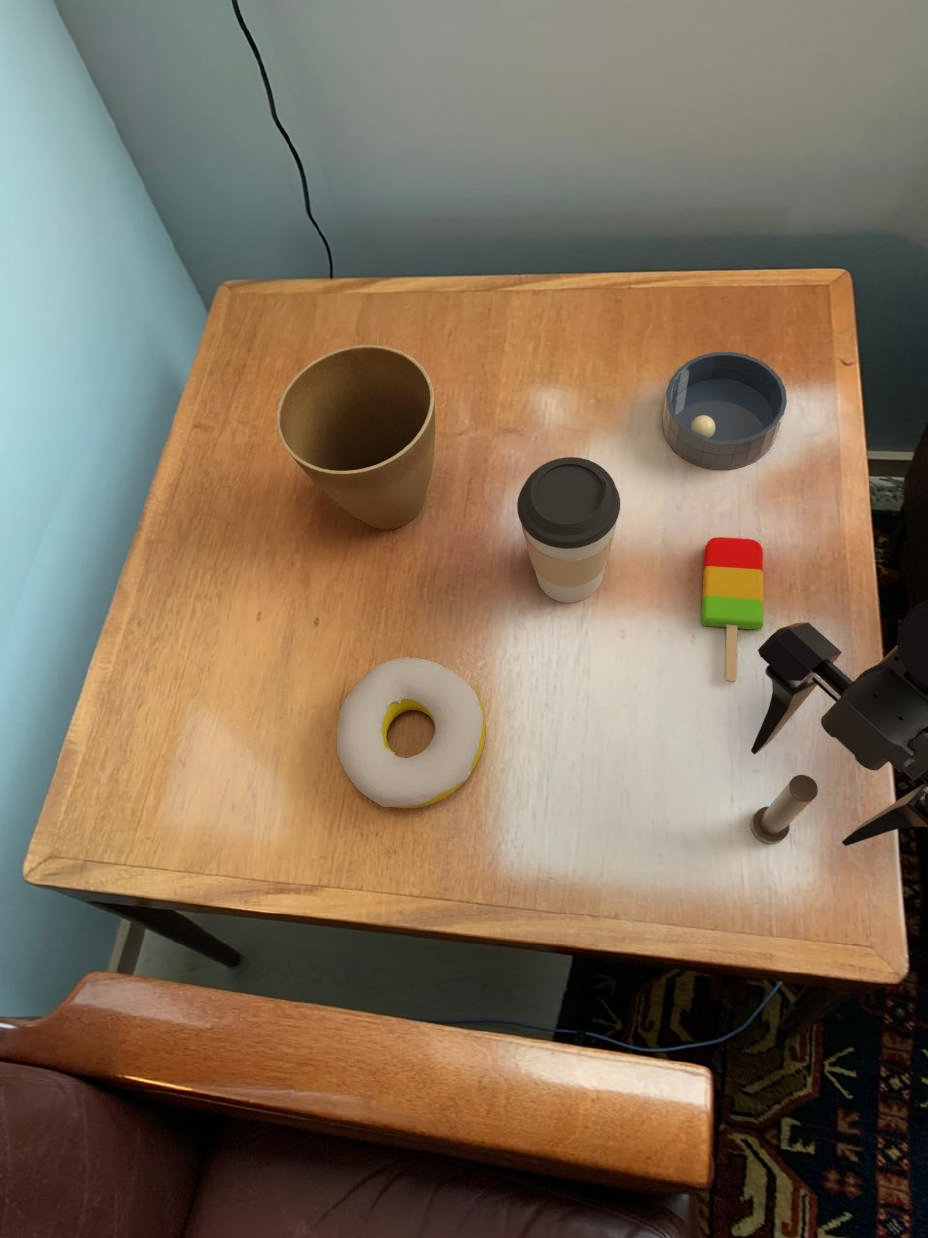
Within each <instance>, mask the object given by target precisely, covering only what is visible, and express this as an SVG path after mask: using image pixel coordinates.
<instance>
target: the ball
mask: <svg viewBox="0 0 928 1238" xmlns="http://www.w3.org/2000/svg"><path fill="white" fill-rule="evenodd" d="M690 429H691V430H692V431H693V432H696V433H698V434H700V435H703V436H705V437H708V438H710V437H712V435H713V434H714V432H715V422H714V421H713V419H712V418H710V417H709V416H706V415H701V416H698V417H696V418H695V419H694V420H693V421H692V422H691V424H690Z"/></svg>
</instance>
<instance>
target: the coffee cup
mask: <svg viewBox="0 0 928 1238" xmlns="http://www.w3.org/2000/svg"><path fill="white" fill-rule="evenodd" d="M516 510H517V517H518V519H519V521H520V524H521V530H522V534H523V537H524V541H525V544H526V548H527V552H528V554H529V559H530V562H531V565H532V567H533V569H534V572H535V576H536V580H537V583H538V585H539V587H540V589H541V591H542V592H543V593H545V595H547V596H548V597H549V598H550V599H553V600H554V601H557V602H560V603H569V604H571V603H572V604H573V603H578V602H582V601H584V600H586V599H588V598H590V597H591V596H592V595H594V594H595V593H596V592H597V590H598V589H599V588H600V587H601V584H602V582H603V578H604V575H605V570H606V569H605V568H606V565H607V564H608V560H609V556H610V553H611V552H610V551H611V549H612V548H611V547H612V545H613V540H614V536H615V531H616V527H617V521H618V518H619V515H620V512H621V497H620V493H619V489H618V488H617V486H616V483H615V481H614V479H613V478H612V476H611V474H610V473H609V472H608V471H607V470H606V469H605V468H604V467H603V466H601V465H600V464H598V463H596V462H594V461H592V460H589V459H586V458H582V457H575V456H566V457H560V458H556V459H552V460H549V461H548V462H545V463H543V464H542V465H540V466H539V467H537V468H536V469H534V471H533V472H532V473H531V474H530V475H529V476H528V477H527V479H526V481H525V482H524V484H523V486H522V487H521V489H520V491H519V494H518V497H517V502H516Z"/></svg>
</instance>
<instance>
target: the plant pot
mask: <svg viewBox="0 0 928 1238" xmlns="http://www.w3.org/2000/svg"><path fill="white" fill-rule="evenodd" d="M276 429H277V433H278V434H277V435H278V437H279V439H280V442H281V444H282V446H283V447H284V449H285V450H286V451H287V452H288V454H289V455H290V456H291V457H292V459H293V461H295V462H296V464H297V465H298V466H299V467H300V468H301V469H302V471H303V472H304V473H305V474H306V475H307V476H308V478H309V479H310V480H311V481H312V482H313V483H314V484H315V485H316V486H317V487H318V488H319V489H320V490H321V491H322V493H324V494H325V495H326V496H327V497H329V498H330V499H331V500H332V501H333V502H334V503H335V504H337V505H338V506H339V507H340V508H342V509H343V510H345V511H346V512H347V513H348V514H350V515H351V516H353V517H355V518H356V519H358V520H359V521H361V522H363V523H365V524H366V525H368V526H370V527H372V528H374V529H378V530H385V531H386V530H395V529H398V528H399V529H400V528H402V527H404V526H406V525H408V524H409V523H412V522H413V521H414V520H415V518H417V516H418V515H419V513H420V512H421V510H422V508H423V505H424V503H425V499H426V496H427V493H428V491H429V486H430V482H431V478H432V472H433V466H434V457H435V448H436V405H435V392H434V386H433V384H432V380H431V379H430V376H429V374H428V373H427V371H426V369H425V368H424V367H423V365H422V364H421V363H420V362H419V361H417V360H416V359H415V358H414V357H412V356H411V355H409V354H407V353H405V352H403V351H401V350H399V349H396V348H394V347H390V346H386V345H385V346H384V345H379V344H359V345H351V346H347V347H346V346H345V347H343V348H339V349H334V350H333V351H330V352H327V353H325V354H324V355H322V356H319V357H318V358H316V359H315V360H313V361H311V362H310V363H309V364H307V365H306V366H305V367H304V368H302V369H301V370H300V371H299V372H298V373H297V374H296V375H295V376H294V377H293V379H291V381H290V382H289V384H288V385H287V386H286V388H285V390H284V391H283V393H282V395H281V397H280V399H279V403H278V405H277V409H276Z"/></svg>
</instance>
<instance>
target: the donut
mask: <svg viewBox="0 0 928 1238" xmlns="http://www.w3.org/2000/svg"><path fill="white" fill-rule="evenodd" d="M407 711H418V712H419V711H420V712H422V713H424V714H426V715H427V716H428V717H429V718H430V719H431V720H432V722H433V725H434V729H435V730H434V735H433V738H432V739H431V742H430V743H429V745H428V746H427V747H425V749H423V751H421V752H420V753H417V754H415V755H412V756H408V757H402V756H400V755H397V754H396V752H395V751H393V750H392V749H391V747H390V746H389V743H388V738H387V736H388V730H389V727H390V725H391V723H392V722H393V721H394V719H396V718H397V716H399V715H401V714H402V713H404V712H407ZM337 722H338V723H337V739H336V752H337V756H338V760H339V762H340V764H341V767H342V768H343V770H344V772H345V774H346V776H347V777H348V778H349V780H350V781H351V783H352V784H353V785H354V787H355V788H356V789H357V790H358V791H359V792H360V793H361V794H362V795H364V796H365V797H367V798H368V799H369V800H371V801H373V802H374V803H376V804H378V805H379V806H381V807H383V808H389V807H390V808H397V809H416V808H423V807H427V806H431V805H433V804H437V803H439V802H440V801H442V800H444V799H446V798H447V797H450V795H452V794H453V793H454V792H456V791H457V790H458V789H459V788H460V787H461V786H462V785H463V784H464V783H465V782H466V781H467V780H468V779H469V778H470V777H471V774H472V772H473V771H474V770H475V768H476V766H477V764H478V763H479V760H480V758H481V756H482V753H483V750H484V746H485V743H486V741H485V740H486V726H487V725H486V717H485V711H484V707H483V704H482V701H481V699H480V697H479V695H478V693H477V692H476V689H475V688H474V687H473V686H472V685H471V683H469V682H468V681H467V680H466V679H465V678H464V677H462V676H460V675H459V674H458V673H456V672H455V671H454V670H452V669H451V668H448V667H446V666H444V665H442V664H440V663H438V662H435V661H433V660H431V659H426V658H420V657H407V656H404V657H403V656H402V657H396V658H392V659H389V660H385V661H383V662H381V663H379V664H377V665H376V666H374V667H372V669H370V670H369V671H368V672H367V673H365V675H364V676H363V677H362V678H361V679H360V680H359V681H358V683H357V684H356V685H355V686H354V687H353V688H352V689H351V690H350V692H349V694H348V696H347V697H346V699H345V700H344V702H343V705H342V707H341V709H340V712H339V717H338V721H337Z"/></svg>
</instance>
